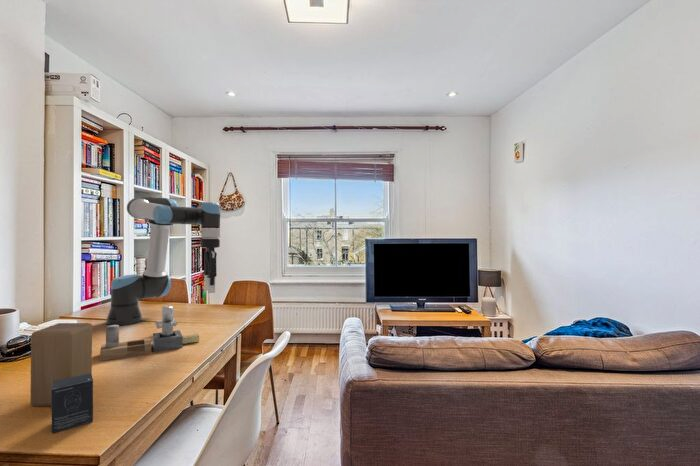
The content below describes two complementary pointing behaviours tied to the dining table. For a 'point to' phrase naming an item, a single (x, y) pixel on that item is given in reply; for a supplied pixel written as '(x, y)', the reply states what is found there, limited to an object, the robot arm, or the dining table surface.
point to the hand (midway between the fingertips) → (209, 291)
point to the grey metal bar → (167, 321)
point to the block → (58, 357)
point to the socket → (167, 341)
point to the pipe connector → (159, 323)
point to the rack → (122, 345)
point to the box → (72, 402)
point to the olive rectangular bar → (190, 338)
